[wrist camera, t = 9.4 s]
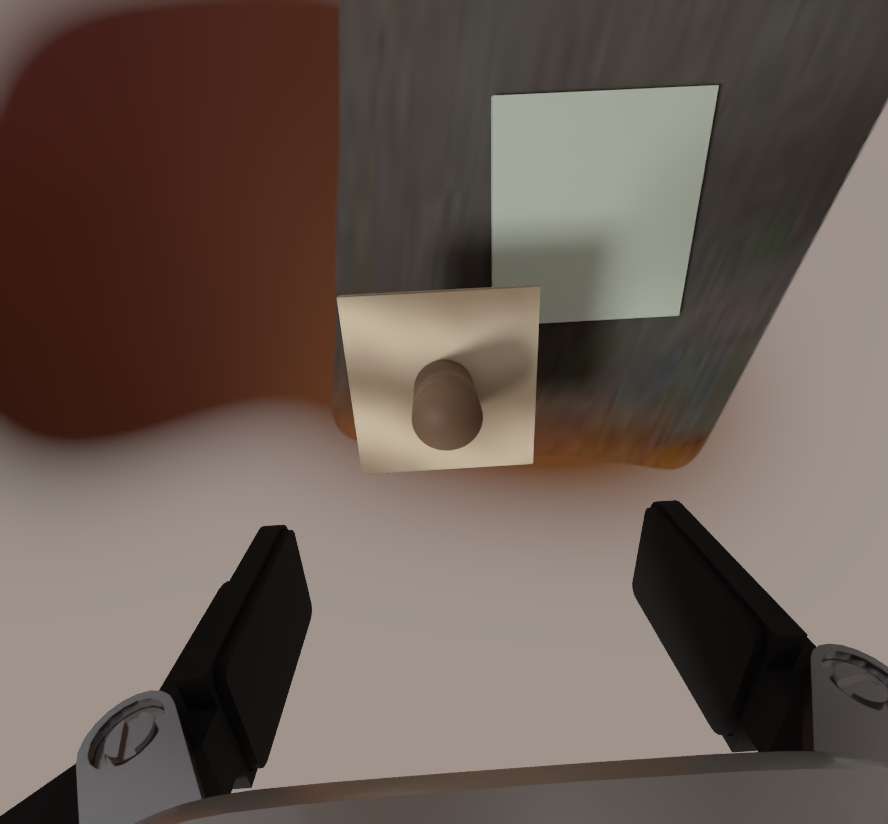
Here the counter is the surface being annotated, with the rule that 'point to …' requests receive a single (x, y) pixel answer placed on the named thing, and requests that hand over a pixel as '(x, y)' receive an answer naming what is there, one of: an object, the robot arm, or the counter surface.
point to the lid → (442, 376)
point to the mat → (598, 197)
